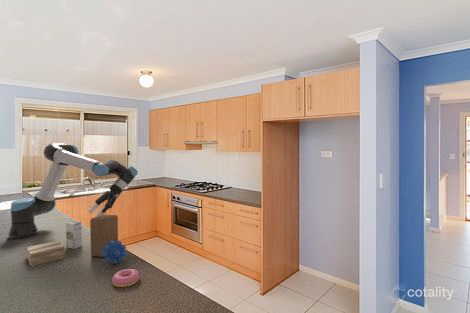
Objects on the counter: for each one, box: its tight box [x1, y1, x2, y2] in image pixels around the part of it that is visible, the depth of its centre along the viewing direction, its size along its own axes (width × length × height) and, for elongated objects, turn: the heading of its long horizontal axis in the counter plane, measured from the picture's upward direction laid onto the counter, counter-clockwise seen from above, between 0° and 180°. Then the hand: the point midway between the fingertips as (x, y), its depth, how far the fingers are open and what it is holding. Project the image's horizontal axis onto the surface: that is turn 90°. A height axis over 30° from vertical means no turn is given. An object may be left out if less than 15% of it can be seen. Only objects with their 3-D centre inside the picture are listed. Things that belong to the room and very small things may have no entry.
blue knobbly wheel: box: [102, 240, 127, 265], centre depth 130 cm, size 12×7×12 cm, turn 135°
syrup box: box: [65, 220, 83, 250], centre depth 153 cm, size 6×6×14 cm
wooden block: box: [89, 214, 119, 258], centre depth 143 cm, size 10×10×20 cm
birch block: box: [25, 240, 66, 267], centre depth 138 cm, size 14×14×6 cm
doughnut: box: [111, 268, 141, 288], centre depth 113 cm, size 11×11×4 cm
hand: (93, 214), depth 161 cm, fingers open, 13 cm apart
